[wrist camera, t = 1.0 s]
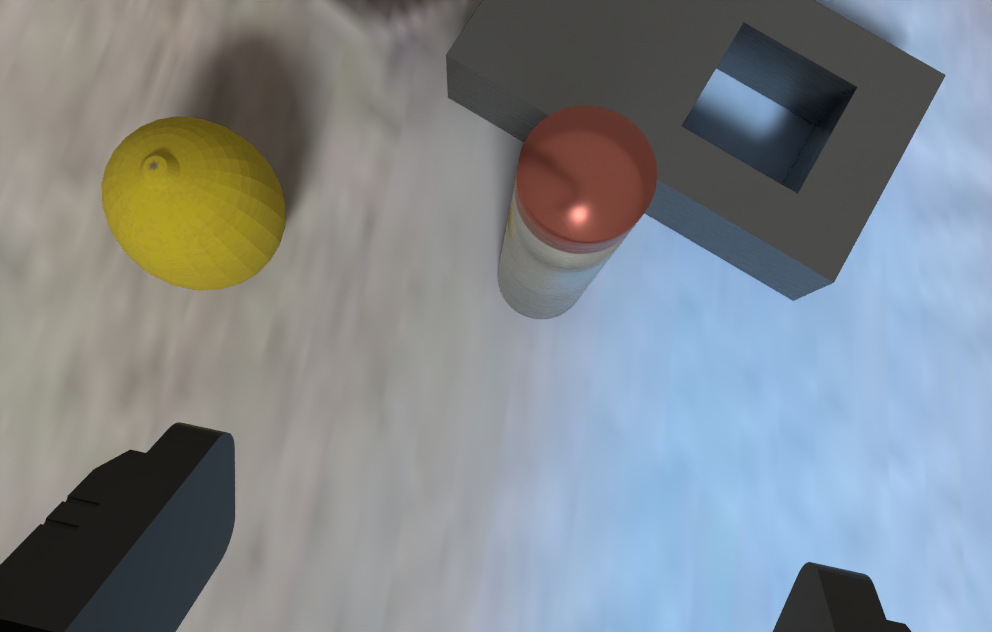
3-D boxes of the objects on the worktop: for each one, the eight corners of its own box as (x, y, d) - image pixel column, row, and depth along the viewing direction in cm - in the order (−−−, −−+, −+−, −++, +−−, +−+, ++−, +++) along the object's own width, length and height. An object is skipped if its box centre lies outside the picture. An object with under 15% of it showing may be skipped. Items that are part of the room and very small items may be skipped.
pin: (481, 290, 31) (491, 192, 19) (526, 218, 31) (563, 80, 20) (556, 335, 31) (613, 265, 19) (599, 262, 31) (682, 150, 19)
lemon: (241, 142, 32) (167, 40, 24) (334, 242, 31) (289, 171, 23) (131, 234, 31) (16, 160, 23) (224, 337, 30) (140, 298, 22)
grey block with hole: (448, 97, 32) (446, 55, 29) (562, -76, 34) (573, -136, 30) (793, 300, 31) (833, 282, 28) (894, 114, 33) (945, 75, 29)
